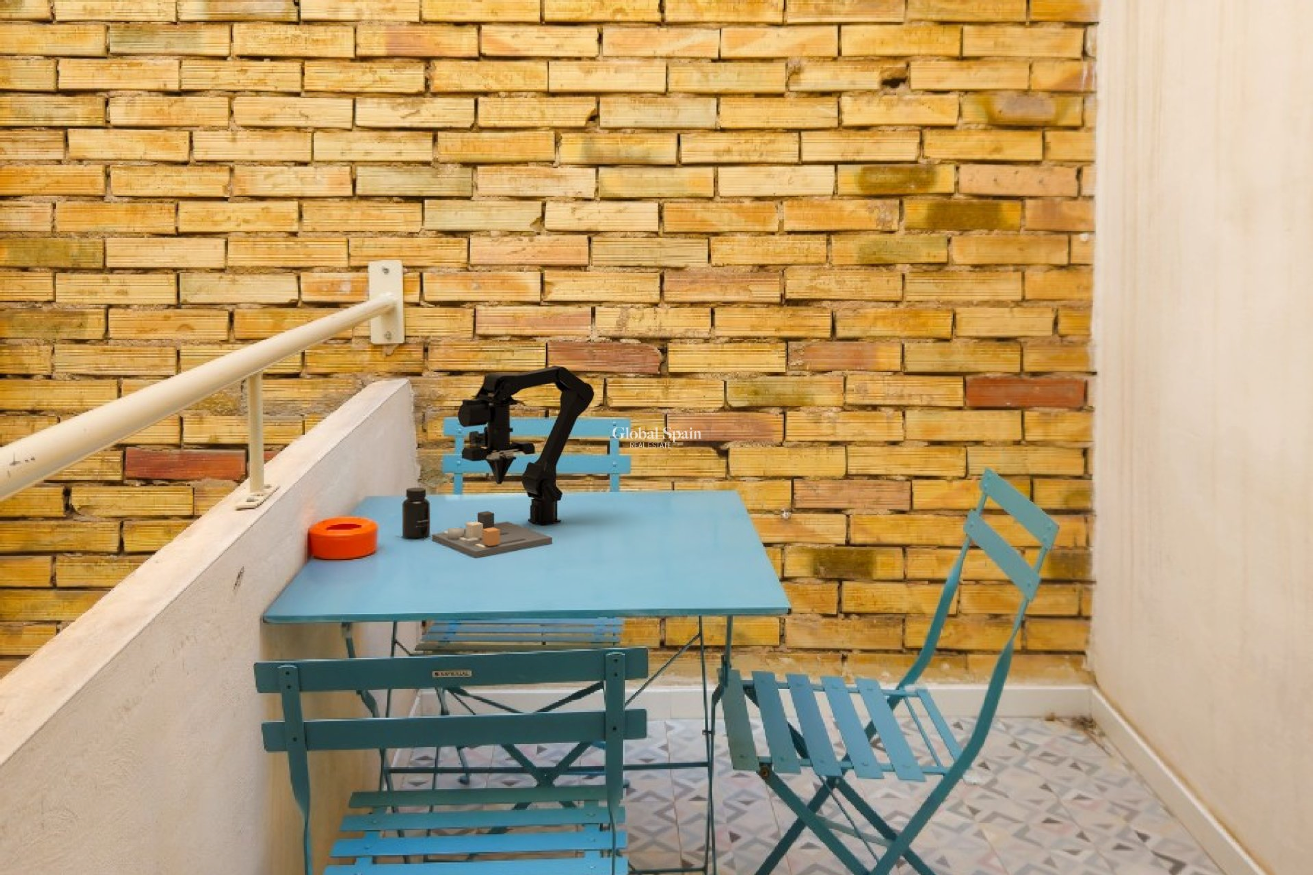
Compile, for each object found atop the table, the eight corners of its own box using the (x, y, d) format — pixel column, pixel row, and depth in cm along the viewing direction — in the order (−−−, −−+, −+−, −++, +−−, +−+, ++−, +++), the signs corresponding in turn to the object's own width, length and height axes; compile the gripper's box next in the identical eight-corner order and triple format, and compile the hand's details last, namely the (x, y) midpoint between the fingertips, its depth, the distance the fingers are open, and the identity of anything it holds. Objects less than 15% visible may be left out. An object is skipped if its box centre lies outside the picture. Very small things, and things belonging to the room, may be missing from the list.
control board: (507, 527, 318) (507, 513, 318) (552, 543, 303) (552, 529, 303) (432, 540, 304) (432, 526, 304) (475, 557, 289) (475, 543, 289)
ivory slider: (476, 535, 302) (476, 521, 302) (483, 537, 300) (482, 523, 299) (465, 537, 300) (465, 523, 300) (472, 539, 298) (472, 525, 297)
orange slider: (493, 541, 297) (492, 527, 296) (499, 544, 294) (499, 529, 294) (482, 543, 295) (482, 529, 294) (489, 546, 292) (489, 531, 292)
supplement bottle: (424, 540, 304) (423, 492, 302) (398, 538, 305) (397, 491, 303) (434, 533, 311) (433, 487, 309) (409, 531, 312) (408, 485, 310)
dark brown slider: (487, 524, 313) (487, 511, 312) (494, 526, 311) (494, 513, 310) (477, 526, 311) (477, 512, 310) (484, 528, 309) (483, 514, 308)
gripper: (511, 416, 323) (512, 474, 325) (449, 422, 311) (450, 483, 313) (536, 421, 314) (536, 481, 317) (473, 428, 302) (474, 490, 305)
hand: (499, 483), depth 313 cm, fingers closed
